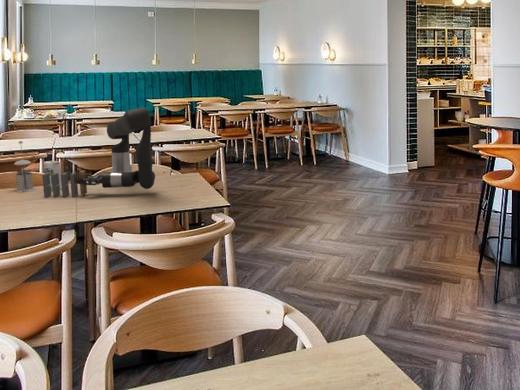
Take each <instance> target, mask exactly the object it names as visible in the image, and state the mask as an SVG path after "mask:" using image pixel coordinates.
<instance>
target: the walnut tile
mask: <svg viewBox="0 0 520 390" xmlns="http://www.w3.org/2000/svg"><path fill="white" fill-rule="evenodd" d="M78 178H79V179H86V178H87V175H86V170H80V171H78ZM87 186H88V185H84V184H79V190H80V191H79V192H80V195H82V196H85V195H87V193H88V188H87Z"/></svg>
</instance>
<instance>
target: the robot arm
mask: <svg viewBox="0 0 520 390" xmlns="http://www.w3.org/2000/svg"><path fill="white" fill-rule="evenodd" d="M151 120H152V119H151V115H150V112H149V110H148V109H147V108H146V107H138V108H133V109H130V110H127V111H126V112H125V111H124V113H123V115H121V116H120V117H118V118H117V119H115V120H113V121H109V122H108V123H107V126H106V134H107V136H108V138H110V139H111V140H121V141H120V142H119V143H117V144H114V145H112V146H111V149H110V150H111V151H110V152H111V164H112V171H103V172H102V174H98V175H97V174H96V175H88V176H87V175H86V179H79V177H77V179H76V180H75V182H76V184H77V185H80V184H84V185H87V186H97V185H100V184H101V186H102V188H105V189H106V188H107V189H108V188H109V189H110V188H113V189H115V188H125V187H126V188H129V187H134V186H135V185H136V184H139V185H140V187H141V188H142V189H145V190H149V189H151V188H152V187H153V186H154V184H155V179H156V174H155V171H154V170H153V158H152V150H151V149H152V148H151V147H152V144H151V142H152V140H151V139H152V122H151ZM141 129H142V135H141V139H140V140H139V143H138V145H137V148H136V153H135V156H136V157H135V158H136V161H137V163H136V164H137V168H138V170H135V171H133V166H132V165H131V156H130V155H131V154H130V152H131V151H130V134H132V133H134V132H135V131H138V130H141Z"/></svg>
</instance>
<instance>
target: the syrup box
mask: <svg viewBox="0 0 520 390" xmlns="http://www.w3.org/2000/svg"><path fill="white" fill-rule="evenodd" d="M43 169H44V170H43V171H44V174H45V173H49V174H50V185H51V192H53V186H52V174H54V173H58V174H59V185H60V190H62V184H61V174H62V173H61V162H60V161H57V160H55V161H54V160H48V161H47V160H46V161H43Z"/></svg>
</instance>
